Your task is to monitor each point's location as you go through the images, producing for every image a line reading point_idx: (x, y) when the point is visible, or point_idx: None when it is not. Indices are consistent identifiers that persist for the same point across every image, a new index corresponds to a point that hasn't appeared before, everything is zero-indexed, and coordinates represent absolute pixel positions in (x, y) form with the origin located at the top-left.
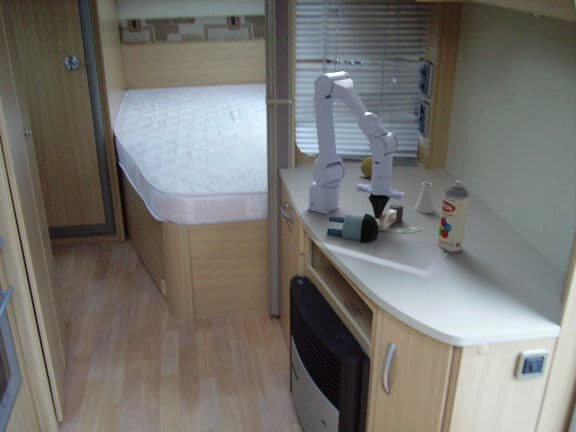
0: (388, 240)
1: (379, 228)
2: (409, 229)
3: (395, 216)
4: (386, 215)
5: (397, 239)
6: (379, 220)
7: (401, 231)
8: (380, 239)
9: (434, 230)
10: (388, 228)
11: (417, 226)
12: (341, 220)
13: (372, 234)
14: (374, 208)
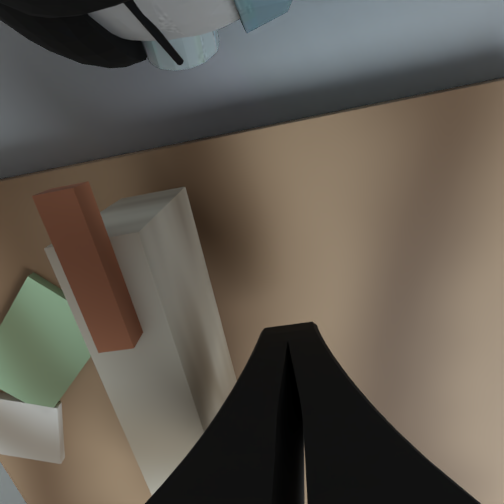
0: (43, 138)
1: (163, 194)
2: (35, 389)
3: None
4: (142, 385)
5: None
6: (135, 221)
7: (38, 319)
8: (103, 99)
9: (6, 489)
10: None
11: (46, 461)
12: None
13: None
14: (334, 406)
